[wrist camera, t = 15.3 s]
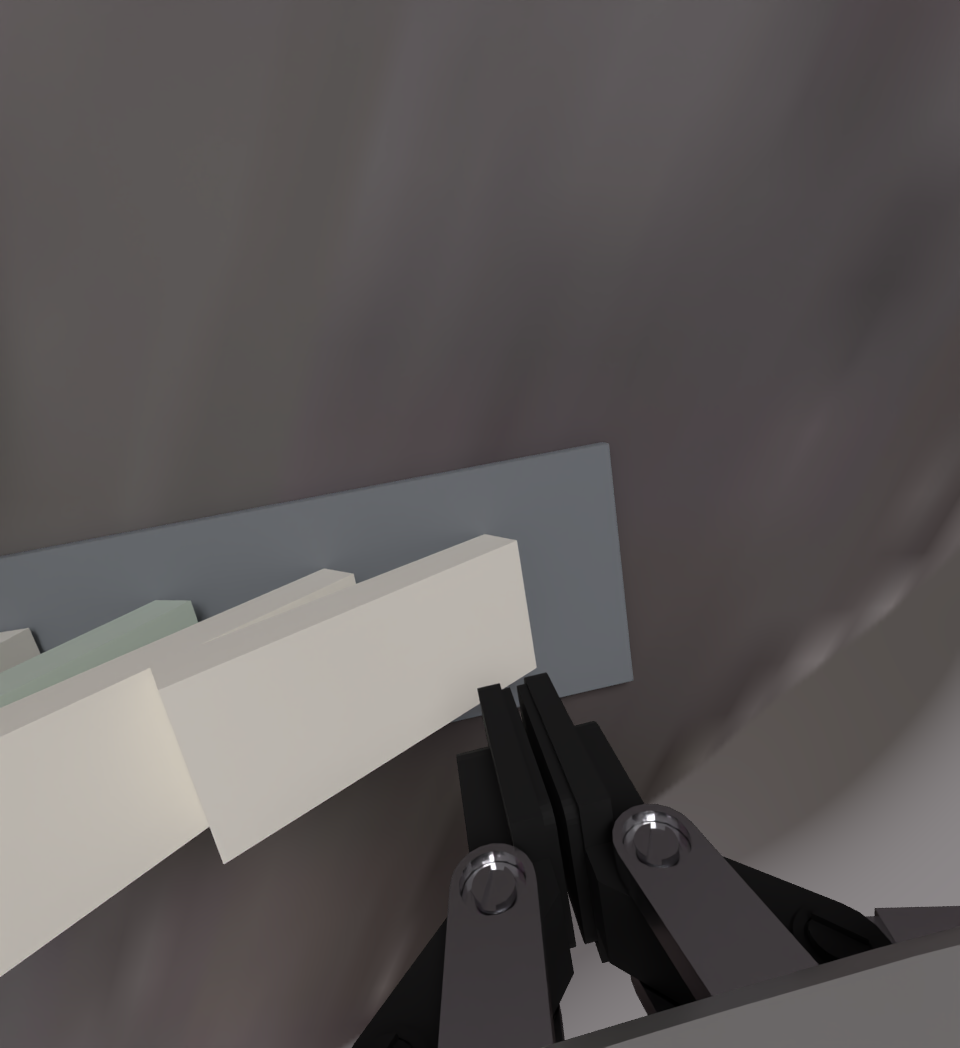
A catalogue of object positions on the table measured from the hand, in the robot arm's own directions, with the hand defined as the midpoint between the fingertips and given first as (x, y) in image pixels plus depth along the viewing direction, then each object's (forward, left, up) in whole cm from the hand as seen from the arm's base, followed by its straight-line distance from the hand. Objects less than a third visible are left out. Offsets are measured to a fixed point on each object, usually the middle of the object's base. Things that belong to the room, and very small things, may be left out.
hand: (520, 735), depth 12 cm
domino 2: (+4, +3, -8) cm, 9 cm away
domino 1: (-1, -1, -7) cm, 7 cm away
